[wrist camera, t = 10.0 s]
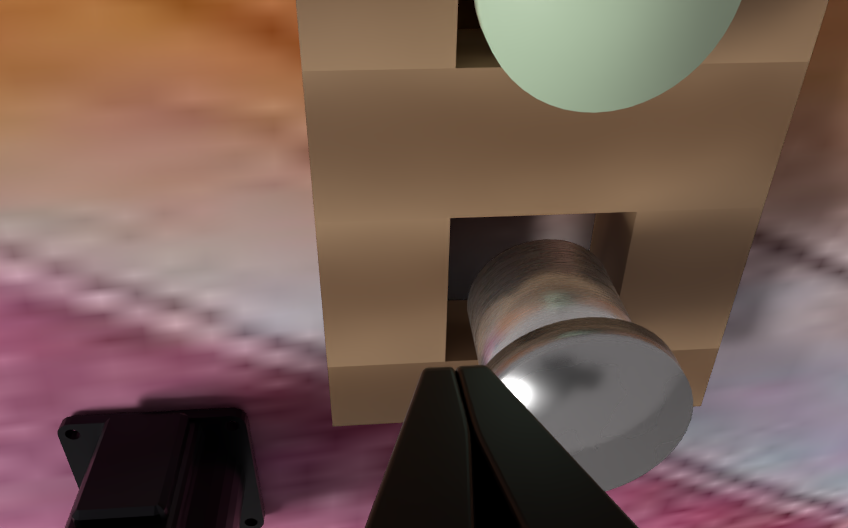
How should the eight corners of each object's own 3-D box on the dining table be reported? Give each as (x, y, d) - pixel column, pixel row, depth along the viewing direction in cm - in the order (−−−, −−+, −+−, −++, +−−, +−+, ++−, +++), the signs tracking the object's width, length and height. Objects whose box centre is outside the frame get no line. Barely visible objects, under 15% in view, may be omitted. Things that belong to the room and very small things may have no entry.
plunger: (612, 362, 22) (668, 491, 18) (446, 371, 21) (467, 504, 18) (642, 219, 19) (717, 336, 15) (452, 226, 19) (478, 347, 15)
